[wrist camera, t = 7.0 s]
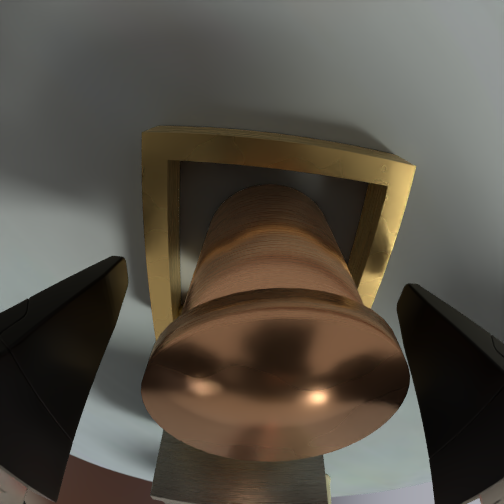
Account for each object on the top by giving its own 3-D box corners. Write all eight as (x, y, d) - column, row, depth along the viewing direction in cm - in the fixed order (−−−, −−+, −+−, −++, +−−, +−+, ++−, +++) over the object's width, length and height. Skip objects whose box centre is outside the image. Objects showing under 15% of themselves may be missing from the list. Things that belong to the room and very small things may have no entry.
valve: (341, 331, 13) (383, 527, 5) (291, 441, 19) (296, 552, 11) (165, 316, 13) (107, 517, 5) (182, 433, 19) (165, 545, 11)
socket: (395, 154, 9) (415, 166, 8) (342, 330, 13) (349, 356, 12) (158, 125, 9) (141, 132, 8) (164, 315, 13) (156, 340, 12)
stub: (352, 185, 10) (457, 322, 4) (321, 303, 13) (354, 458, 7) (201, 167, 10) (116, 298, 4) (197, 292, 13) (160, 450, 6)
